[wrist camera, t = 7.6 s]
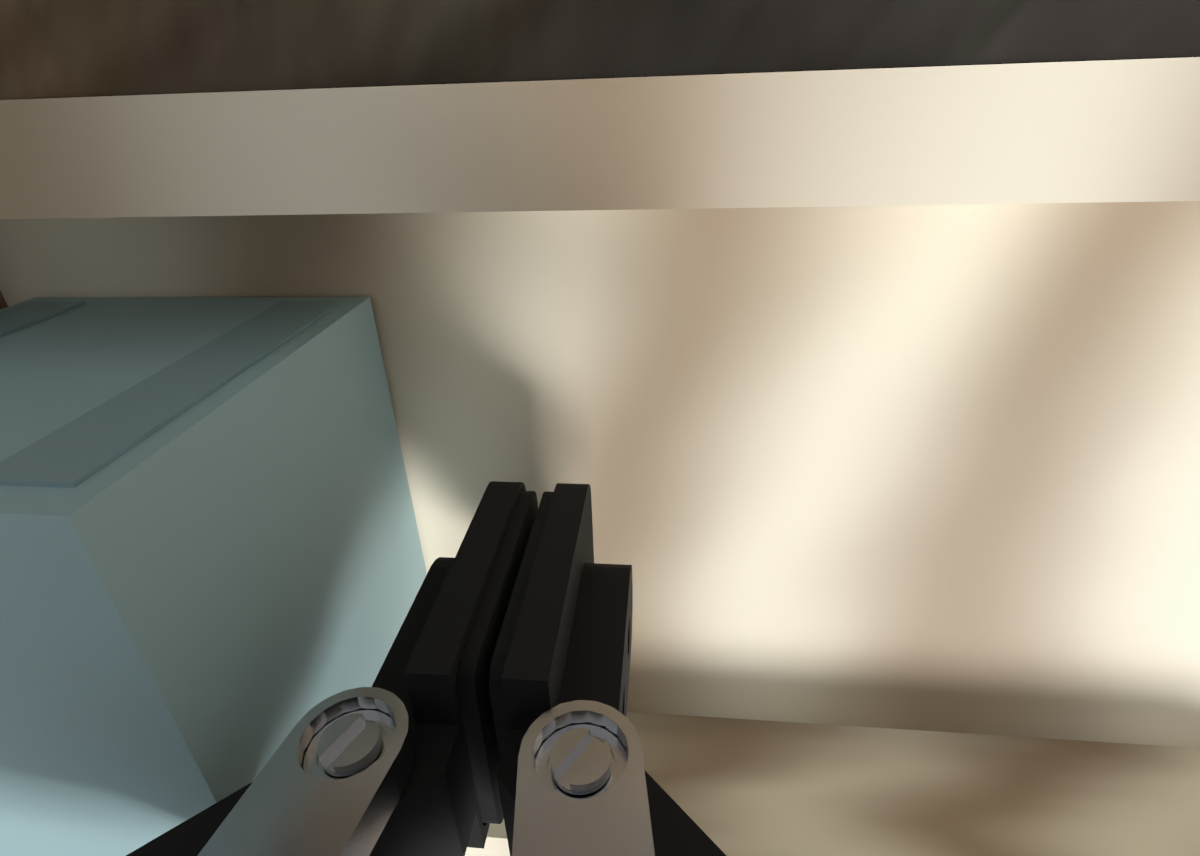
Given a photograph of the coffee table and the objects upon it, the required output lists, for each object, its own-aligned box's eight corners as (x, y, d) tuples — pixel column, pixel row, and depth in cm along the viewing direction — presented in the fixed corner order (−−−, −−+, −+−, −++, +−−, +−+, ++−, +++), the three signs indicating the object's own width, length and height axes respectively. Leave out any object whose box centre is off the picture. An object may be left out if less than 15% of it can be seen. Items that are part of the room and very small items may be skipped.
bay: (1649, 40, 8) (2323, 16, 5) (1197, 752, 15) (1349, 949, 11) (-103, 104, 11) (-455, 116, 7) (182, 687, 17) (66, 832, 14)
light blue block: (369, 293, 10) (65, 511, 5) (442, 651, 14) (309, 982, 9) (34, 294, 11) (-538, 489, 6) (191, 636, 15) (-70, 940, 10)
